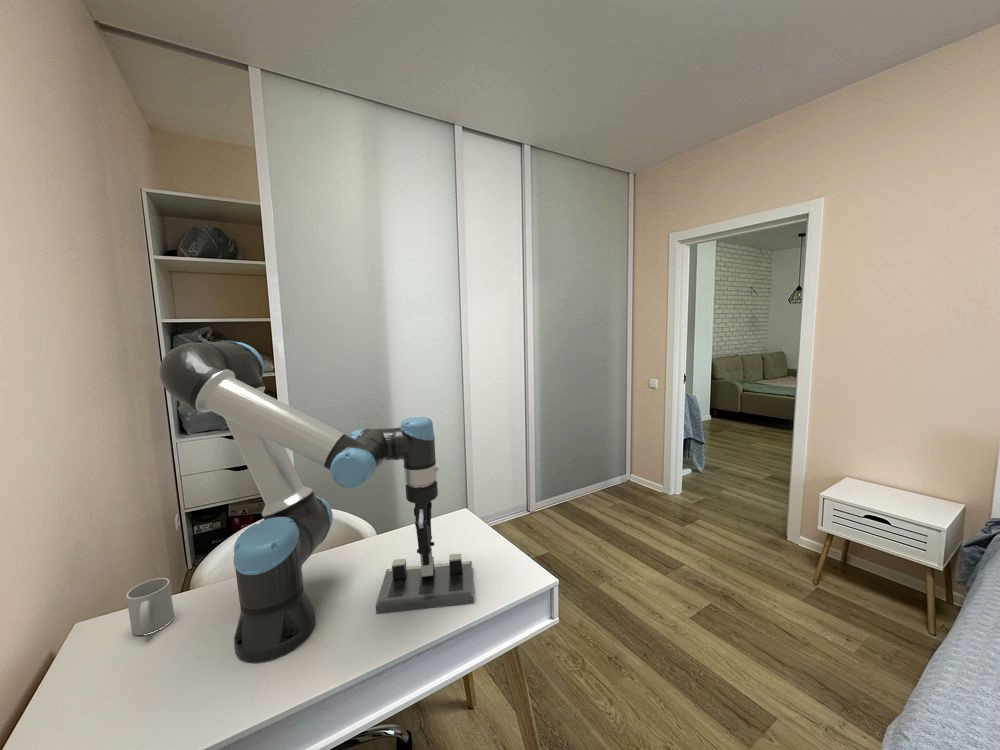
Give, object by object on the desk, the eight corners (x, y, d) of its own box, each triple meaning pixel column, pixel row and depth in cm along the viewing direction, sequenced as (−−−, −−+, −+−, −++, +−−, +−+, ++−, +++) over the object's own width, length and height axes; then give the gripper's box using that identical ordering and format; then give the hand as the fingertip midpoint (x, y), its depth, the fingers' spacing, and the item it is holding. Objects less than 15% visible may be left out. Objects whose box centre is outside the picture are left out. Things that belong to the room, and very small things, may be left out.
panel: (376, 614, 90) (374, 589, 89) (387, 576, 104) (385, 554, 103) (473, 603, 92) (472, 579, 92) (471, 568, 106) (470, 546, 105)
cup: (177, 609, 95) (172, 574, 94) (169, 636, 86) (163, 597, 85) (136, 621, 91) (131, 585, 90) (124, 651, 82) (118, 611, 81)
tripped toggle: (421, 577, 99) (420, 563, 99) (422, 571, 102) (421, 557, 101) (433, 576, 99) (432, 562, 99) (434, 570, 102) (433, 556, 101)
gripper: (435, 491, 90) (441, 589, 92) (438, 471, 103) (444, 557, 105) (401, 494, 89) (408, 592, 92) (408, 473, 102) (415, 560, 105)
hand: (427, 574), depth 98 cm, fingers closed
